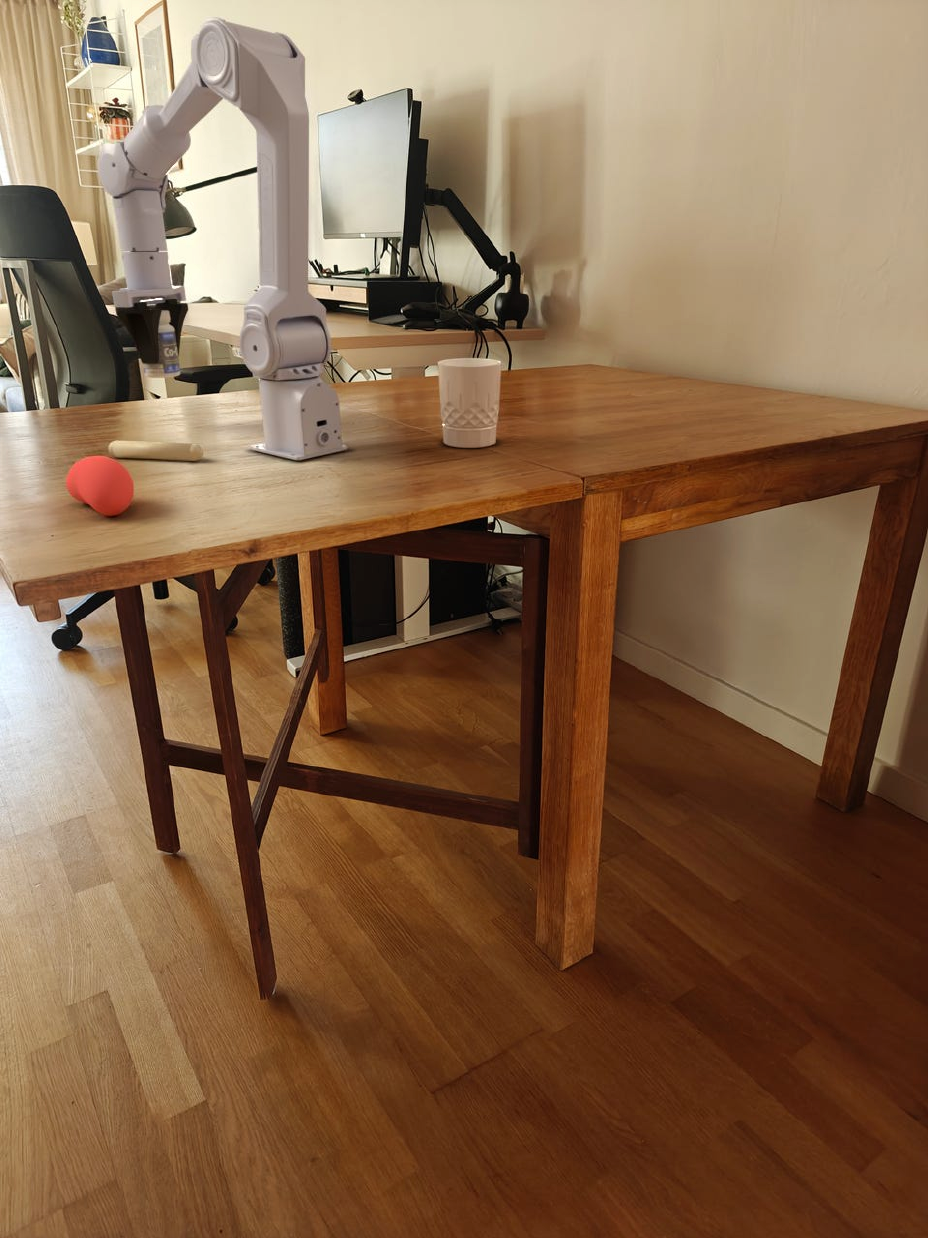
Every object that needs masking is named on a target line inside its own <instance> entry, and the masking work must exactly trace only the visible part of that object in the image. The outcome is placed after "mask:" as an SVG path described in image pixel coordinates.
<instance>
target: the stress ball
mask: <svg viewBox="0 0 928 1238" xmlns="http://www.w3.org/2000/svg"><path fill="white" fill-rule="evenodd" d="M65 487H66V490H67V492H68V493H69V495H70V496H71V497H72V498H73V499H75V500H76V501H78V502H81V503H83V504H87V505H89V506H90V507H91V508H92V509H93V510H94V511H96V512H97V513H99V514H100V515H103V516H107V517H112V516H113V517H114V516H118V515H120V514H123V512H125V511H126V510H127V508H129V506H130V505H131V502H132V500H133V499H134V498H133V497H134V494H135V485H134V480H133V478H132V476H131V474H130V472H129V471H128V469H127V468H126V467H125V466H124V465H123V464H122V463H120V462H119V461H118V460H116V459H114V458H111V457H110V456H109V457H108V456H105V455H92V456H91V455H90V456H85V457H84V458H82V459H79V460H78V461H77V462H75V463H74V464H73V465H72V466H71V468H70V469H69V470H68V471H67V475H66V477H65Z"/></svg>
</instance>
